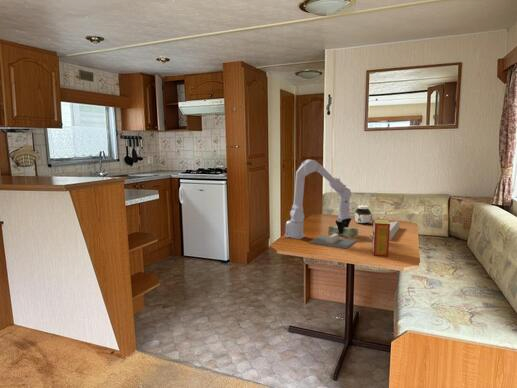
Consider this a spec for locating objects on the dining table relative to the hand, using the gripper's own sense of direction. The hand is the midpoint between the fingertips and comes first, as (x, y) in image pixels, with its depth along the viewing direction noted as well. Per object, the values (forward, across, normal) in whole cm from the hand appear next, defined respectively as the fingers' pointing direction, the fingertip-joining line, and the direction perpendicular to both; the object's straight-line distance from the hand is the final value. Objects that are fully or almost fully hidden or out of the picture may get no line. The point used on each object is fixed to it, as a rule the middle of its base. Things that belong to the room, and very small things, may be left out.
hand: (343, 231), depth 209 cm
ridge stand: (+2, -16, 0) cm, 16 cm away
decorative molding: (+3, +21, -19) cm, 28 cm away
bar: (+2, 0, 0) cm, 2 cm away
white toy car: (+3, +39, -2) cm, 39 cm away
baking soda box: (+2, -22, -26) cm, 34 cm away
